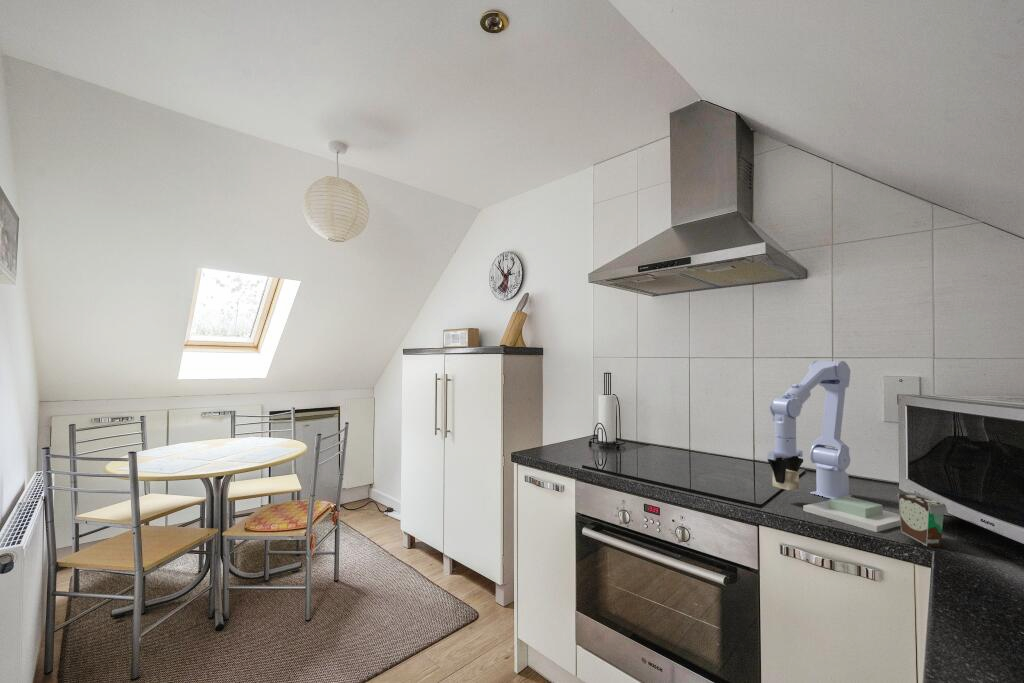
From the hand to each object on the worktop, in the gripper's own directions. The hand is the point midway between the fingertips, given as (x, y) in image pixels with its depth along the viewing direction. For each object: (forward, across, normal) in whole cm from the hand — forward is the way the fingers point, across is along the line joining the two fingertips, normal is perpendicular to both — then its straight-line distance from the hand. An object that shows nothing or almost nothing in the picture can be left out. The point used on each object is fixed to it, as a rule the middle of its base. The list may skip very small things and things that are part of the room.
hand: (785, 481), depth 138 cm
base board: (+6, -6, +16) cm, 18 cm away
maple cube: (+2, 0, 0) cm, 2 cm away
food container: (+7, -3, +33) cm, 34 cm away
